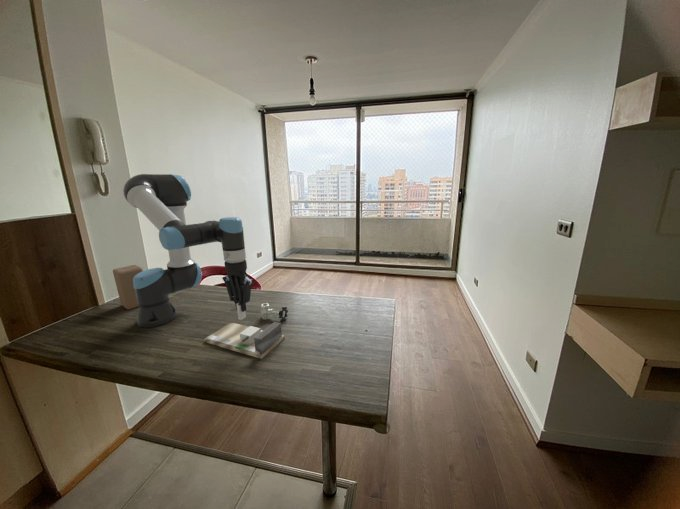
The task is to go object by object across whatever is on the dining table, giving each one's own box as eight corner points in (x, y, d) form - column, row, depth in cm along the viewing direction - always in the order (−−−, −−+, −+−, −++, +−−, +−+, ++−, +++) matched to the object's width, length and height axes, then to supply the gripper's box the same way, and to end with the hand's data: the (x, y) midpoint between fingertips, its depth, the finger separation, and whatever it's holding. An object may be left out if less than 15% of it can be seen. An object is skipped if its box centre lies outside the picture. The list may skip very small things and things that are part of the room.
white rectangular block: (235, 345, 99) (234, 337, 98) (251, 333, 106) (250, 325, 105) (245, 348, 97) (244, 340, 96) (261, 336, 104) (260, 328, 103)
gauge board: (204, 341, 103) (202, 325, 101) (231, 324, 116) (229, 310, 114) (261, 359, 93) (259, 341, 91) (284, 338, 105) (283, 322, 103)
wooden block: (143, 298, 144) (135, 264, 139) (150, 303, 138) (142, 267, 133) (120, 305, 136) (111, 269, 131) (127, 310, 130) (118, 272, 125)
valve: (258, 320, 119) (281, 324, 116) (256, 307, 118) (280, 310, 114) (266, 313, 125) (288, 317, 122) (264, 301, 124) (287, 304, 120)
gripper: (213, 261, 95) (222, 319, 101) (241, 265, 90) (248, 326, 96) (229, 255, 101) (236, 310, 108) (256, 259, 96) (262, 316, 103)
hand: (242, 318), depth 102 cm, fingers closed
